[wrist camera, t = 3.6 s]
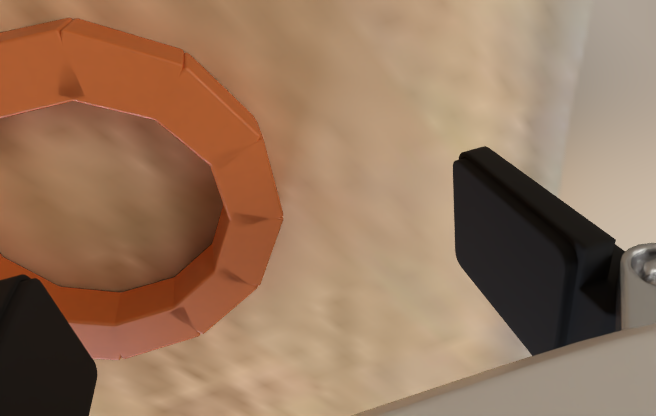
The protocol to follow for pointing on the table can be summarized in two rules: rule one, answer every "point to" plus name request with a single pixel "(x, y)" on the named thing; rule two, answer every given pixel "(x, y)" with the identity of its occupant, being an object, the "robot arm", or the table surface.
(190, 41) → the table surface
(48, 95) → the orange ring
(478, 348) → the table surface
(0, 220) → the table surface
